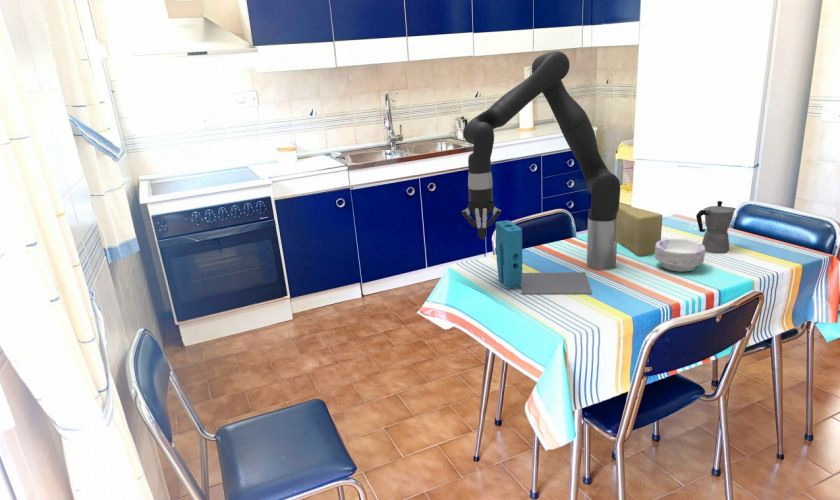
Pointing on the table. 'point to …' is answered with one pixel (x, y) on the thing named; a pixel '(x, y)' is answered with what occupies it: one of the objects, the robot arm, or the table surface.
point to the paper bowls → (679, 254)
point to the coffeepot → (716, 227)
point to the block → (509, 254)
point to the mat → (555, 283)
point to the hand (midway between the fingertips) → (482, 238)
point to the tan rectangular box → (638, 229)
